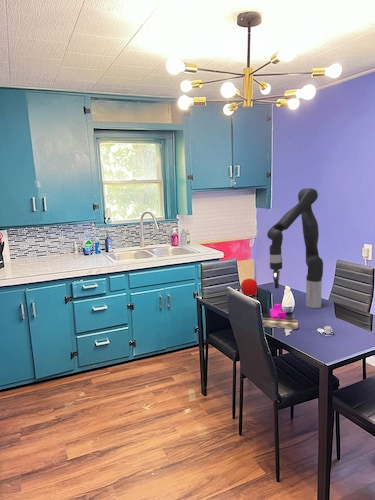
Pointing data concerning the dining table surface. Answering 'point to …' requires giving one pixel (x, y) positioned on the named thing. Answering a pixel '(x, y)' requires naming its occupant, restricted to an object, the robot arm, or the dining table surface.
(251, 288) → the tomato
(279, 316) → the toy block
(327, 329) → the teacup and saucer
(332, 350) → the dining table surface
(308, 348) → the dining table surface
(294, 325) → the plank
